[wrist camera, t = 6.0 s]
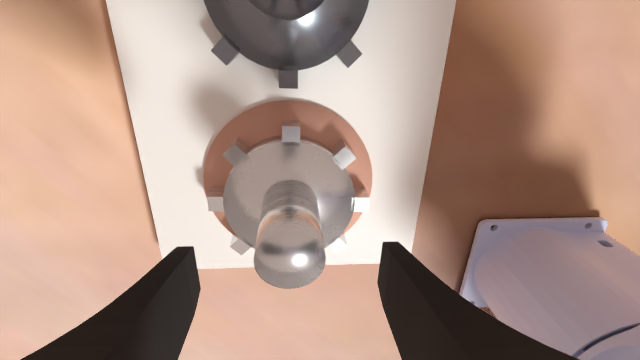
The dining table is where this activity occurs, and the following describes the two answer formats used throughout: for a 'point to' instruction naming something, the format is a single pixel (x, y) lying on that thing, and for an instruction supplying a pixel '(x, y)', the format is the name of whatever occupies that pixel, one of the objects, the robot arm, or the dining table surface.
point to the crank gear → (287, 33)
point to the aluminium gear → (288, 203)
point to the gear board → (280, 117)
